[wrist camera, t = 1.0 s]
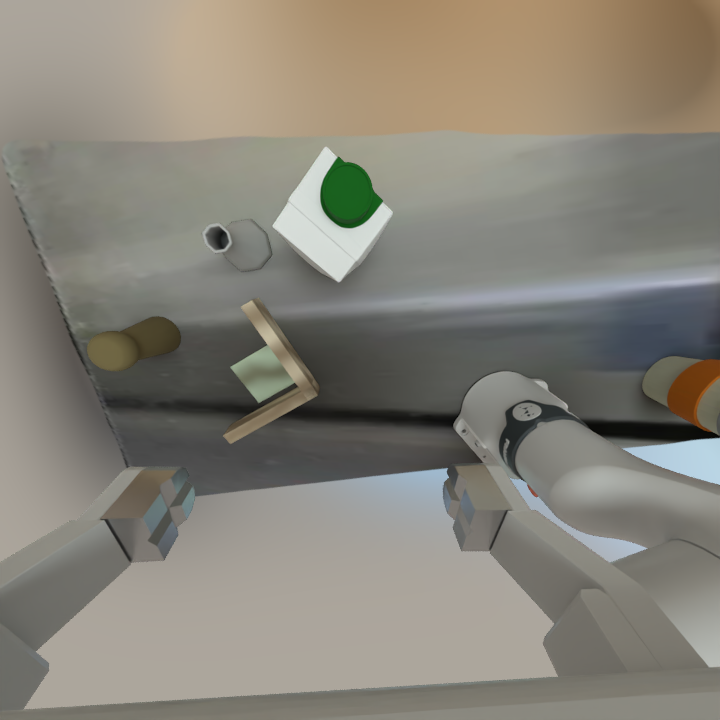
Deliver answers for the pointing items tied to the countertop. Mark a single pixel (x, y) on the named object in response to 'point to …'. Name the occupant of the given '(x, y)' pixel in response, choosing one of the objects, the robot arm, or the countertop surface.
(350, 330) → the countertop surface
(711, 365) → the reusable coffee cup
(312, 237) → the milk carton
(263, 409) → the corner arena
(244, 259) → the flask
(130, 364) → the cork
